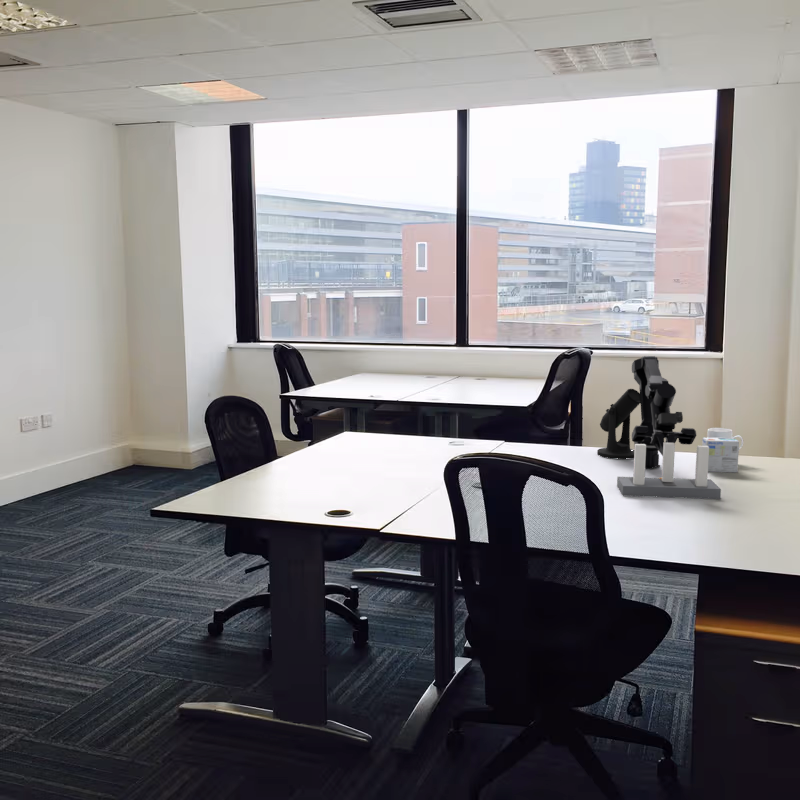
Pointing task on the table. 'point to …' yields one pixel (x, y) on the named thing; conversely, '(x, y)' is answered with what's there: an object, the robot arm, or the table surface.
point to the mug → (722, 434)
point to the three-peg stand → (677, 488)
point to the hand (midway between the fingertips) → (666, 458)
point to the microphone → (613, 420)
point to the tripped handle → (668, 462)
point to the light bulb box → (722, 454)
